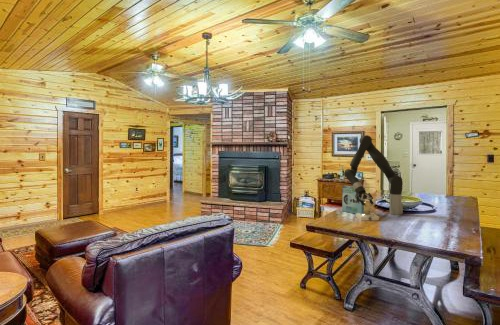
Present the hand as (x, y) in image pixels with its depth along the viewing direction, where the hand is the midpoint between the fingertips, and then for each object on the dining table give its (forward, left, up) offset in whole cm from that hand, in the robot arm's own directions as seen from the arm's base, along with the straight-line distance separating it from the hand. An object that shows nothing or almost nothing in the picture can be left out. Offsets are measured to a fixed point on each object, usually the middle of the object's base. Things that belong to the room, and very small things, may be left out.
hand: (368, 204), depth 235 cm
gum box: (+5, -21, -12) cm, 25 cm away
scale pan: (0, -1, -9) cm, 9 cm away
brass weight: (0, -1, -8) cm, 8 cm away
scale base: (0, -1, -12) cm, 12 cm away
